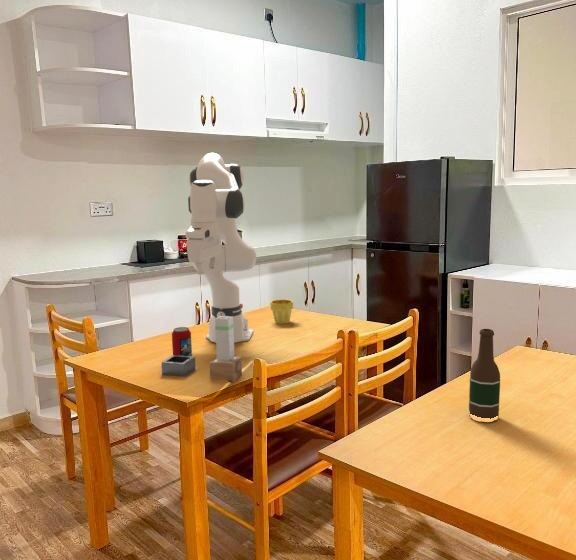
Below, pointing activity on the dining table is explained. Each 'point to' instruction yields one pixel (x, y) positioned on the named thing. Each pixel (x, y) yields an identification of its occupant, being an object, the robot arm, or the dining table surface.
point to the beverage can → (181, 341)
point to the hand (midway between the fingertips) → (206, 271)
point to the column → (224, 338)
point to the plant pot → (281, 310)
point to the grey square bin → (178, 366)
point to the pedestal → (226, 369)
